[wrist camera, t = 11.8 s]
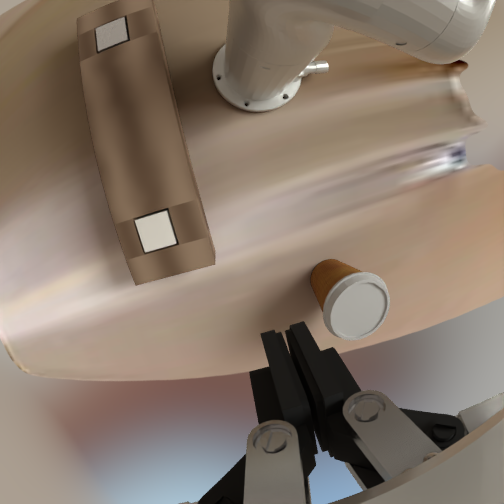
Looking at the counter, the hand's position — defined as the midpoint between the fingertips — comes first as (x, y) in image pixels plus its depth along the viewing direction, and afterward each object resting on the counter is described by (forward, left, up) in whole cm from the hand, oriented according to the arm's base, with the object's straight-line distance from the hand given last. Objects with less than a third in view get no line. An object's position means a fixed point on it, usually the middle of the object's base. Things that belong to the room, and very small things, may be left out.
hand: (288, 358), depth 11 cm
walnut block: (+9, -16, -32) cm, 37 cm away
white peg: (+10, -2, -32) cm, 33 cm away
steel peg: (+10, -30, -32) cm, 45 cm away
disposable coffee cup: (-12, +13, -32) cm, 37 cm away
